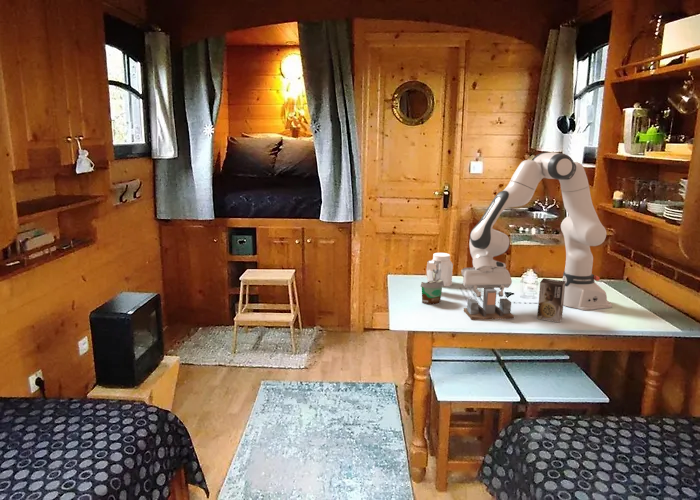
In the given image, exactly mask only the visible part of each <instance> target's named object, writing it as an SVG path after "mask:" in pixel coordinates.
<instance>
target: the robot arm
mask: <svg viewBox="0 0 700 500" xmlns="http://www.w3.org/2000/svg"><path fill="white" fill-rule="evenodd" d="M586 173H587V172H586V170H585V168H584V166H583V164H581V163H580V162H577V161H574V160H573V158H572V157H570V156H569V155H568V154H566V153H562V152H555V151H553V152H552V151H551V152H541V153H538V154H536V155H535V156H533V158H532V159H525V160H522V161H521V162H520V163H519V165H518V166H517V168H516V170H515V171H514V172H513V174H512V176H511V178H510V181H509V182H508V183H507V185H506V187H505V188H504V189H503V190H501V191H499V192H498V193H497V194H496V195H495V196H494V198H493V199H492V200H491V203H490V204H489V206H488V207H487V208H486V210H485V212H484V213H483V215H482V216H481V218H480V220H479V221H478V222H477V223H476V225H475V226H474V227H473V228H472V229H471V232H470V234H469V245H468V246H469V253H470V256H471V258H472V267H463V268H462V269H461V272H460V273H461V277H462V284H463V287H464V288H465V289H472V292H474V293H475V294H476V298H481V297H482V292H481V291H479V290H478V289H484V288H494V289H499V290H500V291H498V292H497V295H498V297H500V298H501V297H504V290H505V289H508V288H509V287H511V285H512V282H513V281H512V277H511V274H510V272H509V270H508V269H507V268H506V267H507V264H506V263H505V262H502V261H499V260H496V259H494V257H495V258H496V257H499V256H501V255H503V254H504V253H506V252H507V251H508V250H509V247H510V244H511V243H510V242H511V239H510V237H509V236H508V235H507V234H506V233H504V232H502V231H499V230H497V229H494V227H493V226H494V225H495V224H496V222H497V220H498V219H499V218H500V216H501V214H502V212H504V211H505V210H506V209H509V208H515V207H522V206H525V205H526V204H528V203H529V202H530V201H531V199H532V198H533V196H534V194H535V192H536V189H537V187H538V185H539V183H540V182H541V181H542V180H543V179H544V178H545V179H546V180H547V179H549V180H558V181H559V184H560V190H561V196H562V202H563V207H564V209H565V210H566V212H567V214H568V216H566V217H565V218H564V219H562V222H560V223H561V224H560V230H561V233H562V235H563V239H564V246H565V267H564V271H563V274H562V281H565V292H564V303H563V306H565V307H569V308H573V309H578V310H582V311H591V310H599V309H611V308H612V307H613V305H612V303H611V302H610V301H609V300H608V296H607V292H606V291H605V290H604V289H603V288H602V287H600V285H599V284H597V283H596V282H598V281H600V279H601V278H600V276H598V275H594V274H593V273H592V272H593V263H594V256H593V252H592V250H591V247H597V246H601V245H602V244H603V243H604V242H605V240H606V239H607V238H606V237H607V230H606V227H605V226H604V225H603V224H602V222H601V221H600V218H599V216H598V213H597V212H596V209H595V207H594V205H593V200H592V197H591V196H592V195H591V190H590V184H589V180H588V176H587V174H586ZM595 281H596V282H595Z"/></svg>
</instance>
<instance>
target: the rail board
mask: <svg viewBox="0 0 700 500" xmlns="http://www.w3.org/2000/svg"><path fill="white" fill-rule="evenodd" d="M511 308H512V301H511V300H510V299H509V298H499V306H497V305H495V314H486V311H485V310H484V309H483V306H481V305H480V304H479V302H478V301H477V299H475V298H468V299H467V305H466V307H464V308H463V312H464V313H465V314H466V315H467V316H468V318H469V319H470V320H472V321H476V320H485V321H486V320H514V319H515V315H513V314H512V312H511V311H512V310H511Z"/></svg>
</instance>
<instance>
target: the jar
mask: <svg viewBox="0 0 700 500" xmlns="http://www.w3.org/2000/svg"><path fill="white" fill-rule="evenodd" d="M431 260H438V261H441V262H442V263H441V264H442V272H441V279H443V282H444V286H443V287H451V286H452V285H453V266H454V264H453V262H452V261H451V254H450V253H447V252H435V253H433V255H432V259H431Z"/></svg>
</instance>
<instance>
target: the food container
mask: <svg viewBox="0 0 700 500" xmlns="http://www.w3.org/2000/svg"><path fill="white" fill-rule="evenodd" d="M420 287H421V303H422V304H424V305H425V304H426V305H438V304H440V303H441V298H442V292H443V291H442V290H443V287H445V286H444V282H443V279H441V278H438V280H435V281H429V282H428V281H427V282H425V281H421V284H420Z"/></svg>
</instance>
